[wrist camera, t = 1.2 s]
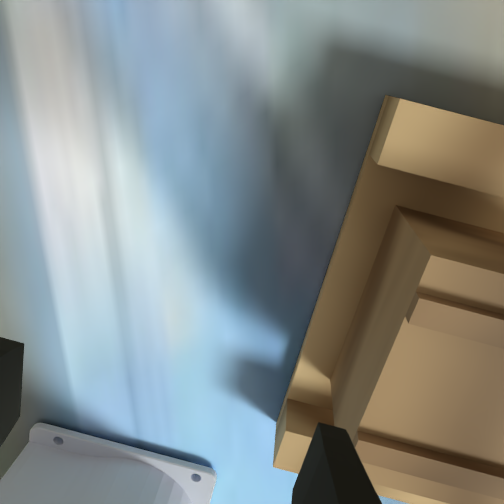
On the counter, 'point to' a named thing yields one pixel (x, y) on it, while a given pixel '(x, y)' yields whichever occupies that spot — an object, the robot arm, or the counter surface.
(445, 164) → the wooden base
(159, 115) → the counter surface
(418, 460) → the crate
